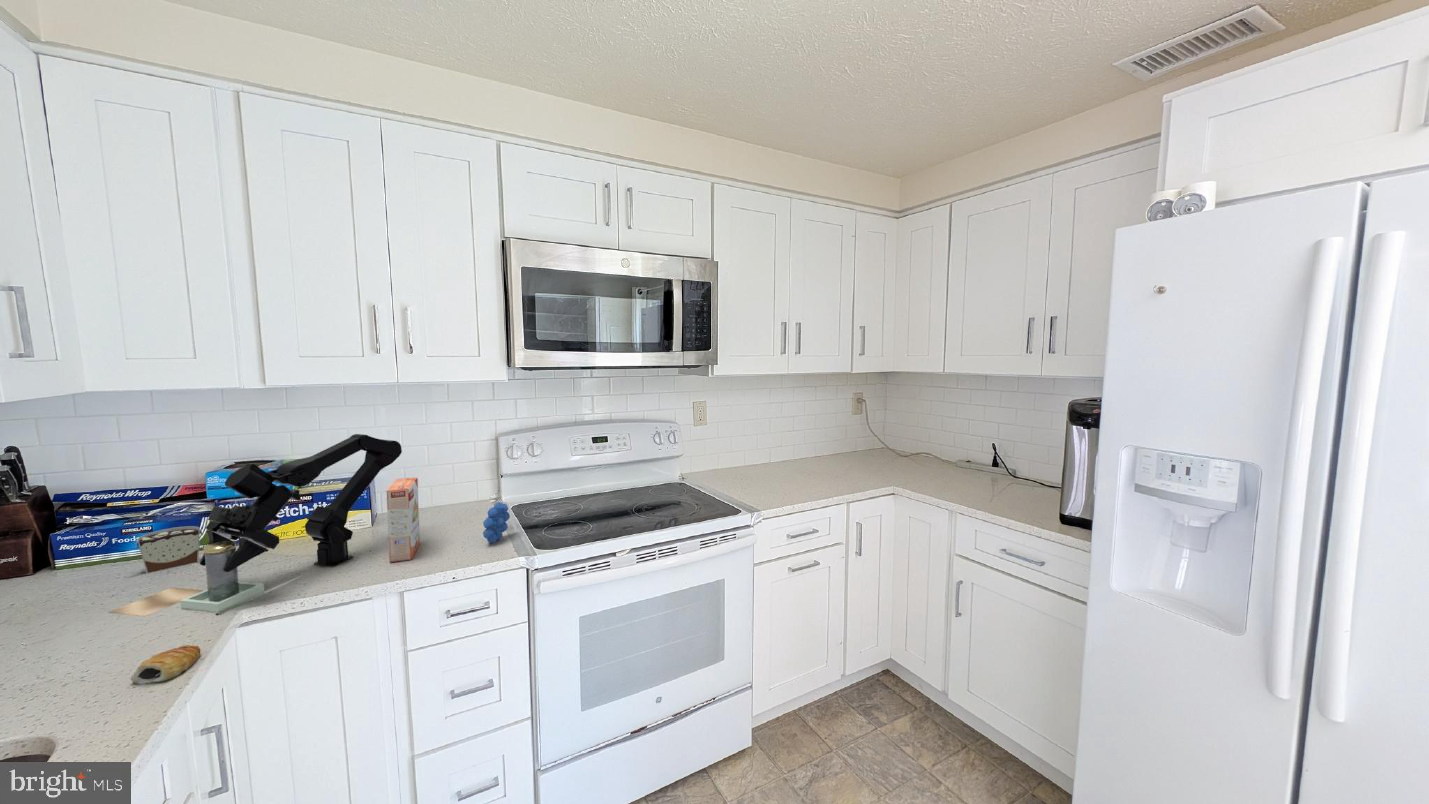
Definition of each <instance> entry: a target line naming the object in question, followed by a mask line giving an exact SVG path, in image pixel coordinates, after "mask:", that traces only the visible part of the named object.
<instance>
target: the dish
mask: <svg viewBox="0 0 1429 804" xmlns="http://www.w3.org/2000/svg"><path fill="white" fill-rule="evenodd" d="M263 595H265V584H264V583H259V582H258V583H257V582H250V581H249V582H247V581H239V593H238V594H236V595H234V596H232V597H229V598H227V599H225V600H223V601H220V602H212V601H209V598H208V588H206V589H205V591H202V592H200V593H198V594H195V595H193V596H190V597H188V598H185V599H183V600H181V602H180V609H182V610H190V611H191V610H192V611H200V612H210V613H215V614H214V615H217V616H218V615H219V616H220V615H221V614H224V613H226V612H228V611H230V610H233V609H234V607H235V608H237V607H239V606H242V605H243V604H245V602H246V603H247V601H248V602H250V601H252V600H254V599H256V598H258V597H261V596H263ZM253 598H254V599H253ZM251 599H252V600H251ZM242 603H243V604H242ZM238 605H239V606H238ZM236 606H237V607H236ZM232 608H233V609H232Z"/></svg>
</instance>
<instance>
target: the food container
mask: <svg viewBox="0 0 1429 804" xmlns="http://www.w3.org/2000/svg"><path fill="white" fill-rule="evenodd" d="M203 534H204V533H203V531H202V529H200V527H199V526H194V525H192V526H191V525H188V526H178V527H177V526H176V527H170V528H164V529H160V530H155V531H151V532H149V533H146V534H143V535H141V536H139V537H137V540H136V542H135V547H134V548H135V549H136V548H137V547H139V551H140V554H141V557H142V562H143V565H144V568H145V572H146V574H149V573H155V572H159V571H163V570H168V569H172V568H176V567H177V568H178V567H180V566H186V565H190V564H193V563H198V564H199V555H200V553H199V551H200V537H201V536H200V535H203Z"/></svg>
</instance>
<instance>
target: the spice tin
mask: <svg viewBox="0 0 1429 804" xmlns="http://www.w3.org/2000/svg"><path fill="white" fill-rule="evenodd" d="M236 551H237V540H236V541H235V540H232V541H222V542H217V543H213V544H210V545H208V544H207V545H205V546H204V547H203V554H204V553H205V563H206V565H205V572H206V585H207V589H208V598H209V601H212V602H220V601H223V600H225V599H227V598H229V597H232V596H234V595H236V594H238V593H239V582H240V581H239V572H238V571H239V569H238V567H237V568H235V569H233V570H231V571H230V572H225V571H224V568H225V566H226V565H227V563H228V562H229V560H230V559H231V558H232V556H233V555H234V553H235V552H236Z"/></svg>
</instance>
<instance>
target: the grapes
mask: <svg viewBox="0 0 1429 804" xmlns="http://www.w3.org/2000/svg"><path fill="white" fill-rule="evenodd" d="M508 511H509V507H508V505H507V504H506V503H502V502H500V501H497V502H496V503H495V504H494V505H493V507H491V508H489V509H488V510H487V511H486V513H487V516H488V517H486V518H485V519H484V521H483V523H482V524H483V527H484V528H485V529H484V531H483V532H482V535H483V537H484V539H486V541H487V542H488V544H493V543H495V542H497V541H500V540H501V539H502V538H503V533H504V532H506V531H507V530H508V528H509V526H508V523H507V521H509V519H510V516H511V515H510V512H508Z"/></svg>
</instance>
